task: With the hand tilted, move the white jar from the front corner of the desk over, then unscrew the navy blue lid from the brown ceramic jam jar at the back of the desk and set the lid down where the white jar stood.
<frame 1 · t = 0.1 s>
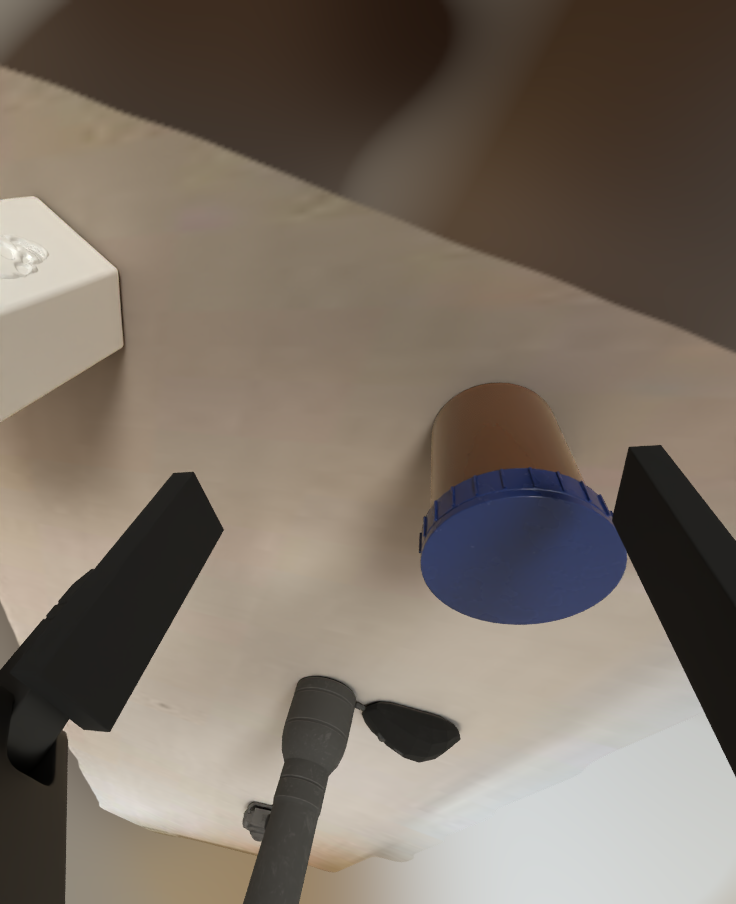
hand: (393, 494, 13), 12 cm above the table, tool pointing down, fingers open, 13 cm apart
jar: (56, 285, 23), on the table
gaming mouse: (400, 712, 49), on the table, touching flashlight
flashlight: (326, 691, 47), on the table, touching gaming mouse
jam jar: (491, 436, 25), on the table
lid: (516, 561, 17), point 9 cm above the table, screwed on, not yet turned
tank toy: (276, 810, 82), on the table
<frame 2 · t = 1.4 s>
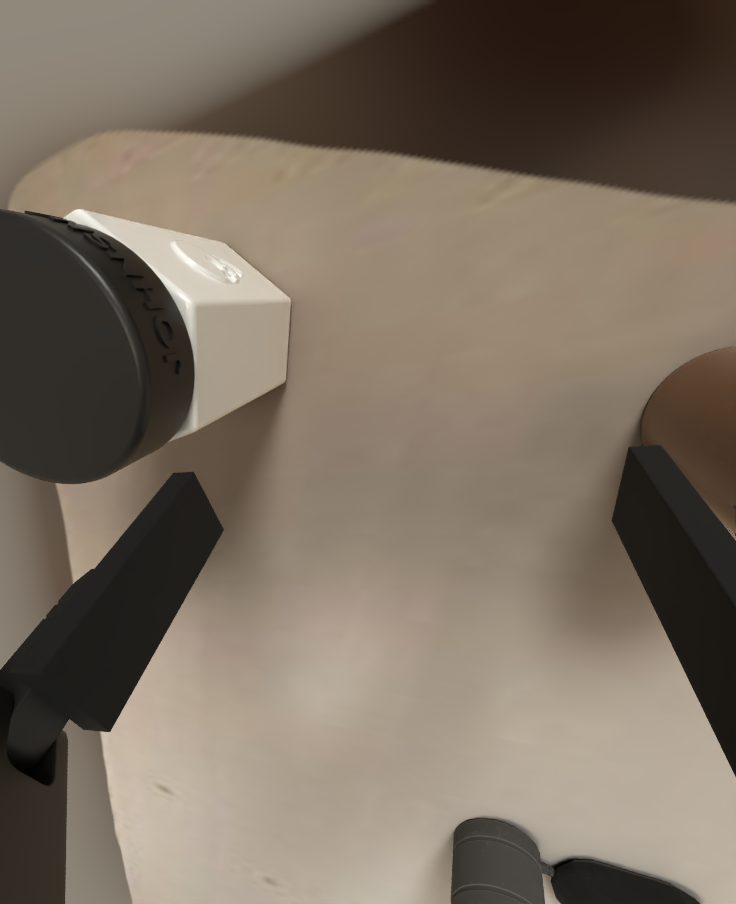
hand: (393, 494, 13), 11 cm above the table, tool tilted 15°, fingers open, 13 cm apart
jar: (225, 330, 23), on the table
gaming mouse: (604, 879, 35), on the table
flashlight: (495, 844, 35), on the table
jam jar: (721, 420, 20), on the table
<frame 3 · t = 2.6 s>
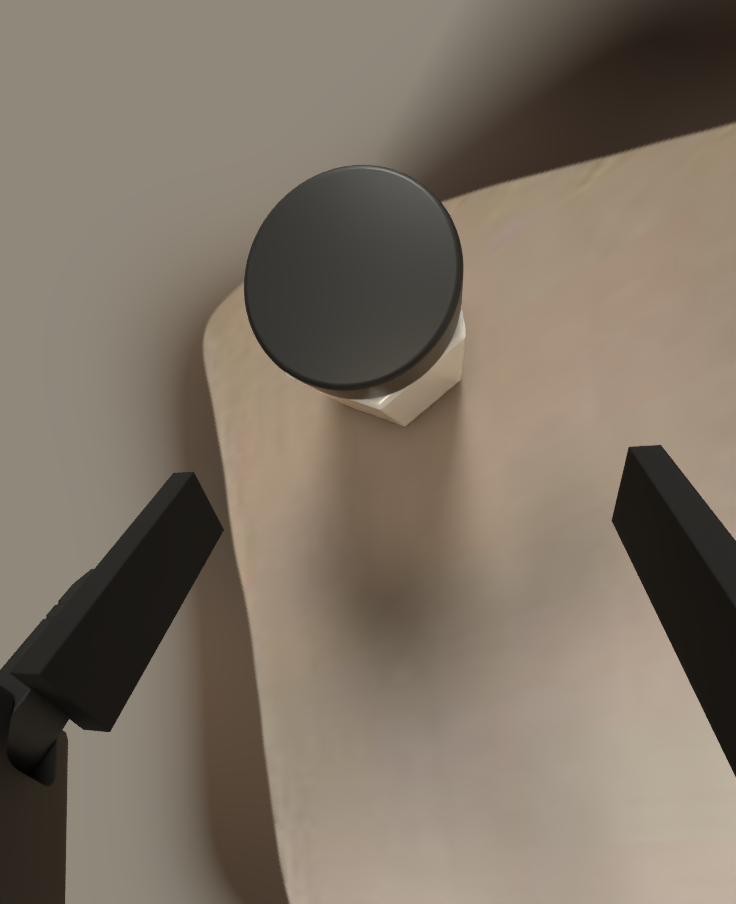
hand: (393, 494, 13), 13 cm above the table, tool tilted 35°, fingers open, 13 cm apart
jar: (394, 358, 26), on the table
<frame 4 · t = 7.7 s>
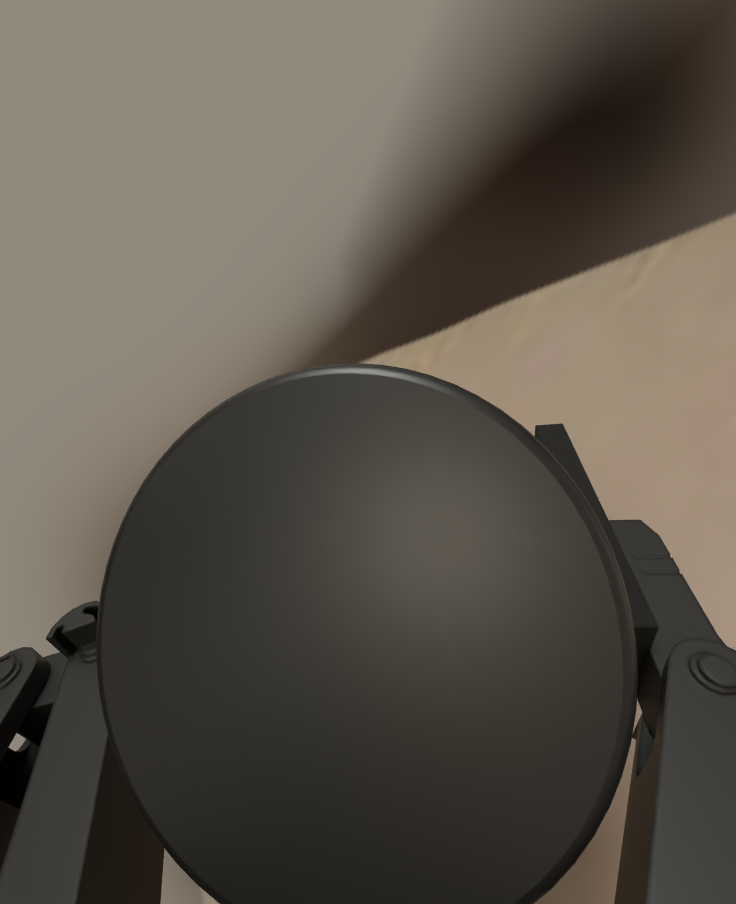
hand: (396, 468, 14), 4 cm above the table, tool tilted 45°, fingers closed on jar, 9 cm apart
jar: (413, 555, 18), on the table, touching gripper
when the fingers open (4 cm above the table, at t = 17.1 s): jar stays where it is, on the table.
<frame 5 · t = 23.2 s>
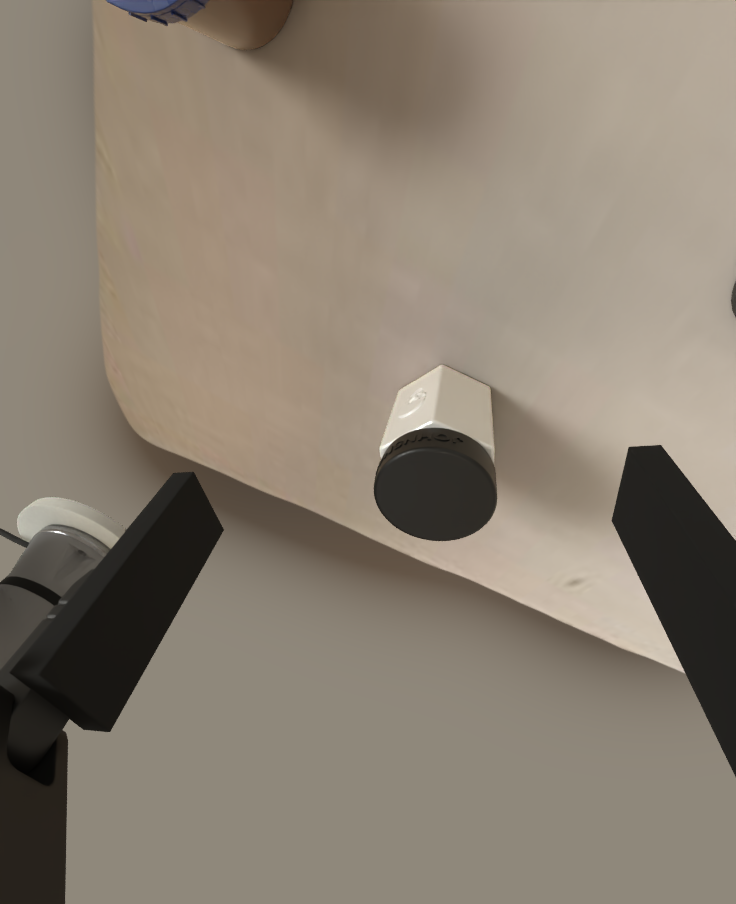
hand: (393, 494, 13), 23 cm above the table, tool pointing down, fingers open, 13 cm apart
jar: (444, 409, 37), on the table
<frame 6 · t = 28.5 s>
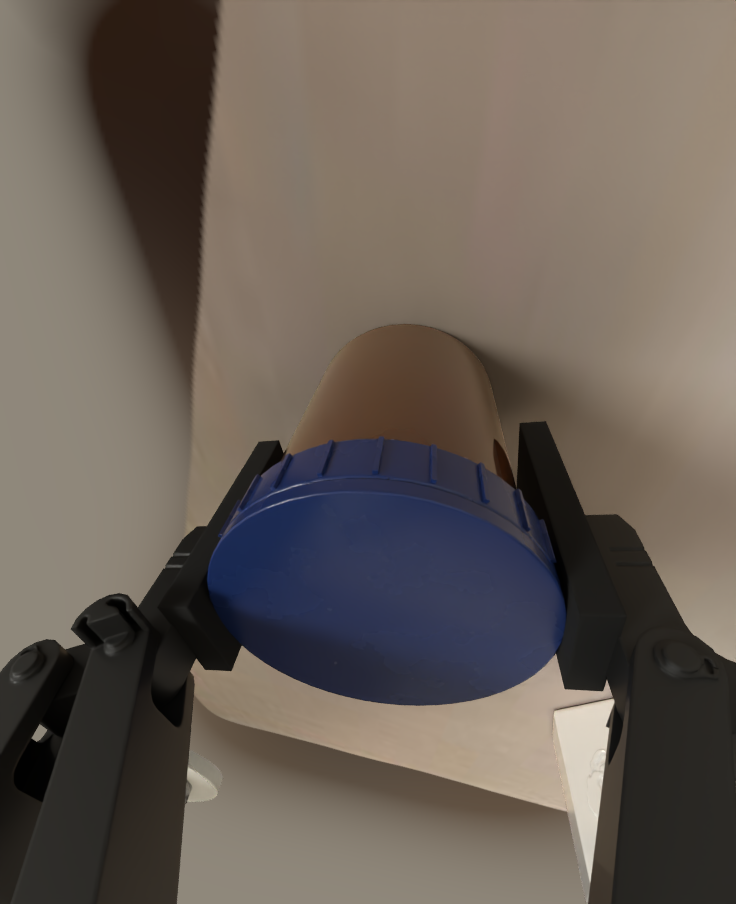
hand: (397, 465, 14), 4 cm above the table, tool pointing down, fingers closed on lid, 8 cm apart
jar: (607, 722, 31), on the table
jam jar: (404, 408, 17), on the table
lid: (379, 608, 10), point 9 cm above the table, screwed on, not yet turned, touching gripper
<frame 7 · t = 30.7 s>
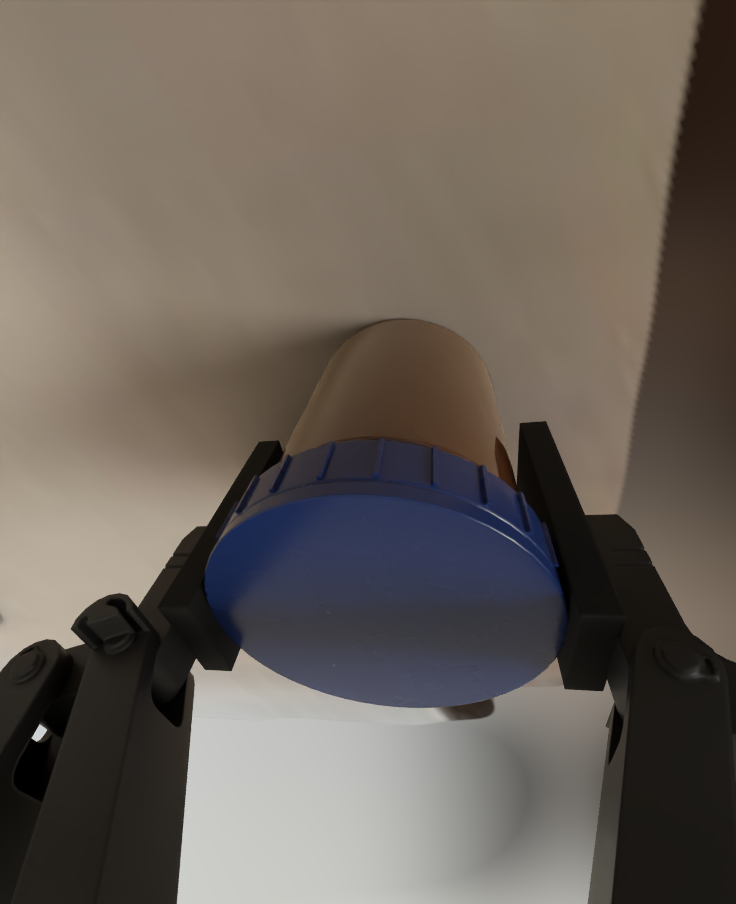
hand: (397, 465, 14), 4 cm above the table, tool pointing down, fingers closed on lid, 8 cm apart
jam jar: (404, 403, 17), on the table
lid: (379, 611, 9), point 10 cm above the table, off its thread, touching gripper
when the fingers open (0 cm above the table, at t = 39.8 s): lid drops 4 cm, point 1 cm above the table.
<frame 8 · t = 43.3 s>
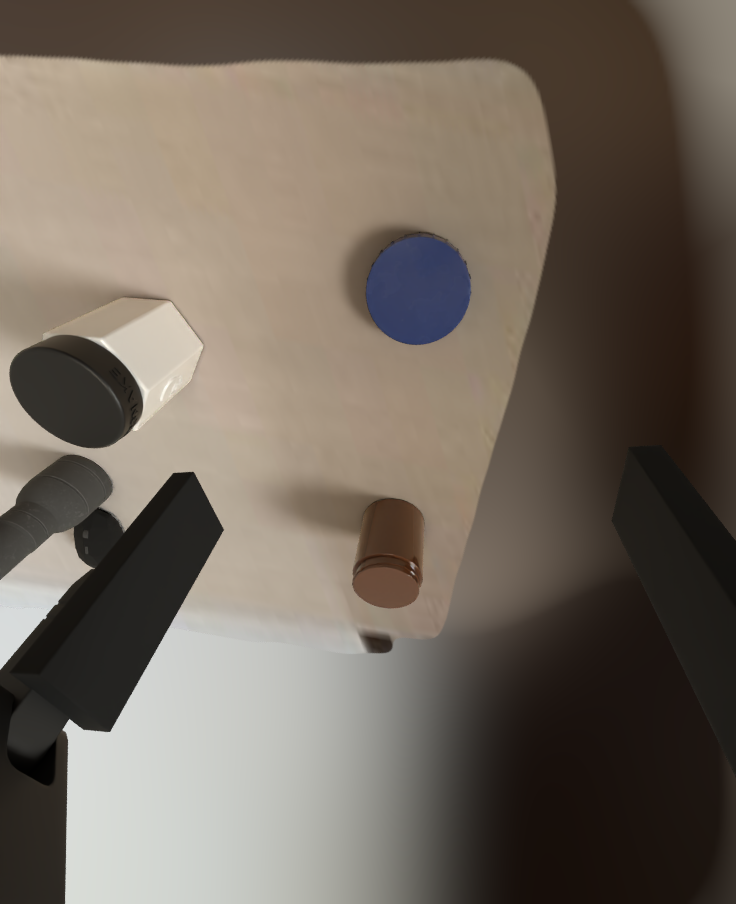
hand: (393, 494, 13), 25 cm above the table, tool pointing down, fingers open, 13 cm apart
jar: (160, 340, 39), on the table
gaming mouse: (106, 527, 57), on the table, touching flashlight
flashlight: (85, 478, 51), on the table, touching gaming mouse
jam jar: (393, 521, 48), on the table
lid: (417, 293, 32), point 1 cm above the table, off its thread
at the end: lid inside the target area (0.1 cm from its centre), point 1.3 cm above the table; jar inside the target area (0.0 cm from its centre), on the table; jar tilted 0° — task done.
